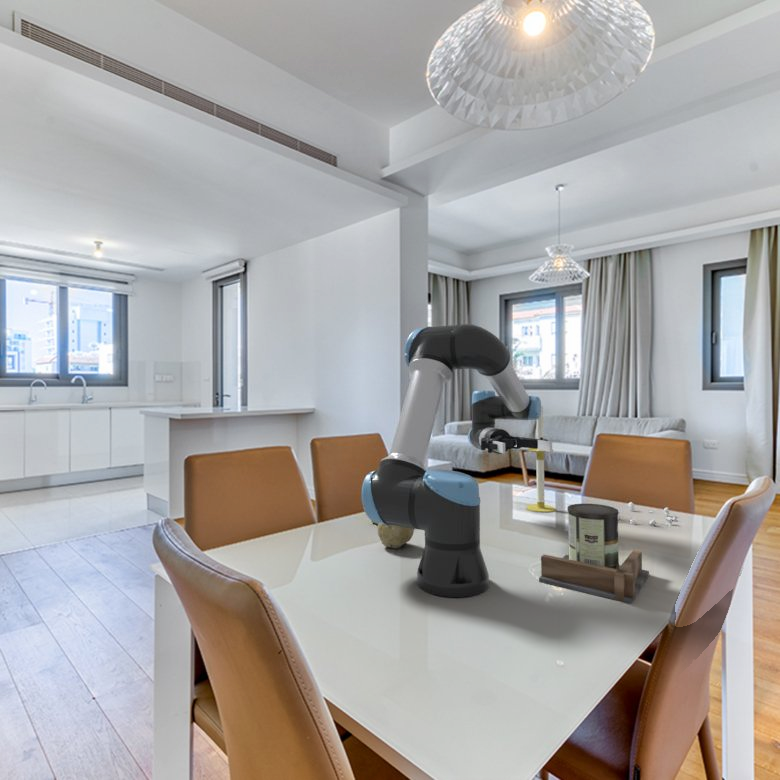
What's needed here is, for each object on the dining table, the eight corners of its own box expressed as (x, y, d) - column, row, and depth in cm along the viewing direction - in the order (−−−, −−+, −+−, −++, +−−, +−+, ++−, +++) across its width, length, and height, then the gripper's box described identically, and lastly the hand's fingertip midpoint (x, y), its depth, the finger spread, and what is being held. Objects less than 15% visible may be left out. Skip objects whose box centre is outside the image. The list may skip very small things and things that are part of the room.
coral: (423, 516, 131) (406, 508, 123) (413, 554, 128) (396, 549, 120) (393, 509, 136) (376, 501, 128) (383, 545, 133) (365, 540, 125)
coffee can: (606, 564, 110) (605, 502, 110) (628, 582, 100) (627, 514, 100) (561, 564, 111) (560, 503, 111) (578, 582, 100) (577, 514, 100)
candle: (523, 505, 171) (522, 399, 171) (552, 505, 170) (551, 399, 170) (527, 512, 161) (526, 400, 161) (558, 512, 160) (557, 399, 160)
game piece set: (607, 509, 166) (607, 498, 166) (674, 515, 157) (674, 503, 157) (607, 523, 148) (606, 510, 148) (682, 530, 139) (682, 517, 139)
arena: (631, 603, 92) (631, 577, 92) (539, 581, 103) (538, 558, 103) (649, 574, 106) (648, 551, 106) (566, 557, 117) (566, 537, 117)
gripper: (532, 451, 152) (570, 460, 131) (457, 453, 147) (483, 463, 127) (532, 427, 152) (569, 432, 131) (457, 429, 147) (483, 434, 127)
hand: (527, 447), depth 129 cm, fingers open, 13 cm apart
